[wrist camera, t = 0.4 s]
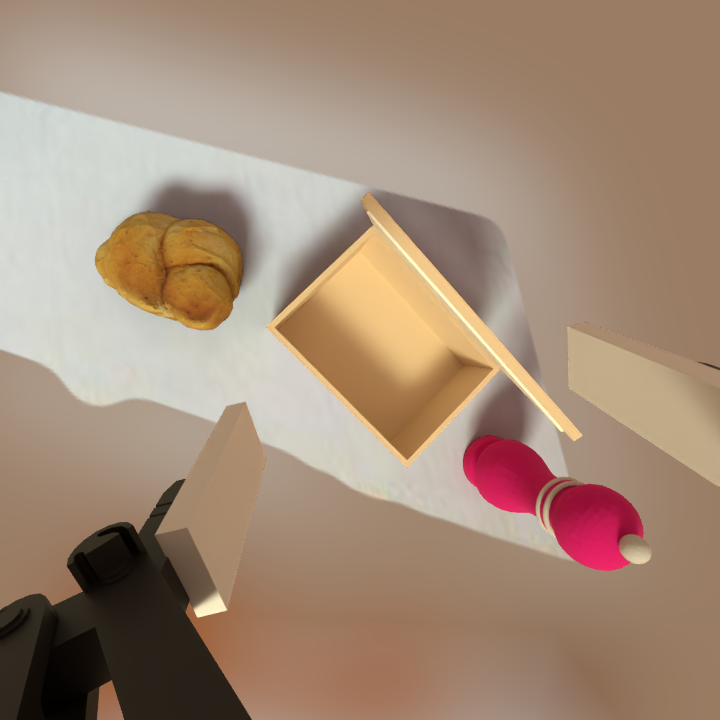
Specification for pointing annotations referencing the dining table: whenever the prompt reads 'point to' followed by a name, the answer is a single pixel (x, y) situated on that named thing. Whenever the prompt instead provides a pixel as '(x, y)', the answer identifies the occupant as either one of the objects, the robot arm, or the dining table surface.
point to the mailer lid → (464, 314)
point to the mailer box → (385, 346)
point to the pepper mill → (558, 504)
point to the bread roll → (173, 268)
